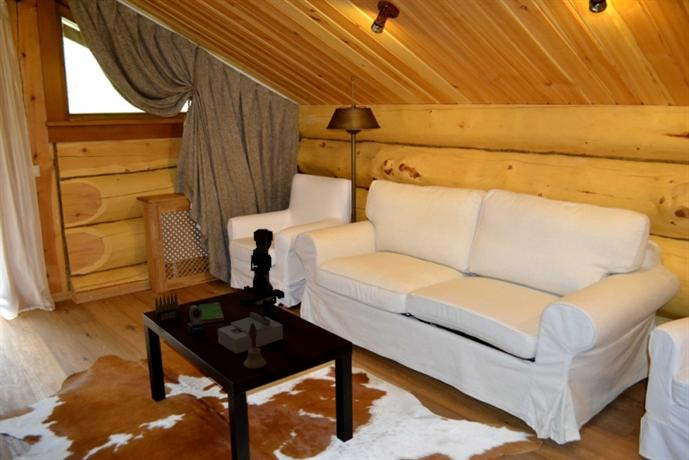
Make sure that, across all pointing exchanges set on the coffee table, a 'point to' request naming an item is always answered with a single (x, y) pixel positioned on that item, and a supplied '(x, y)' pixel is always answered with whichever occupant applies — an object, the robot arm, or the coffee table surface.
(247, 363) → the hand bell
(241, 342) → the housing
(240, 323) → the lid
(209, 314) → the game box
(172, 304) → the ammunition clip
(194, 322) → the watch
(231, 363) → the coffee table surface
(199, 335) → the coffee table surface
